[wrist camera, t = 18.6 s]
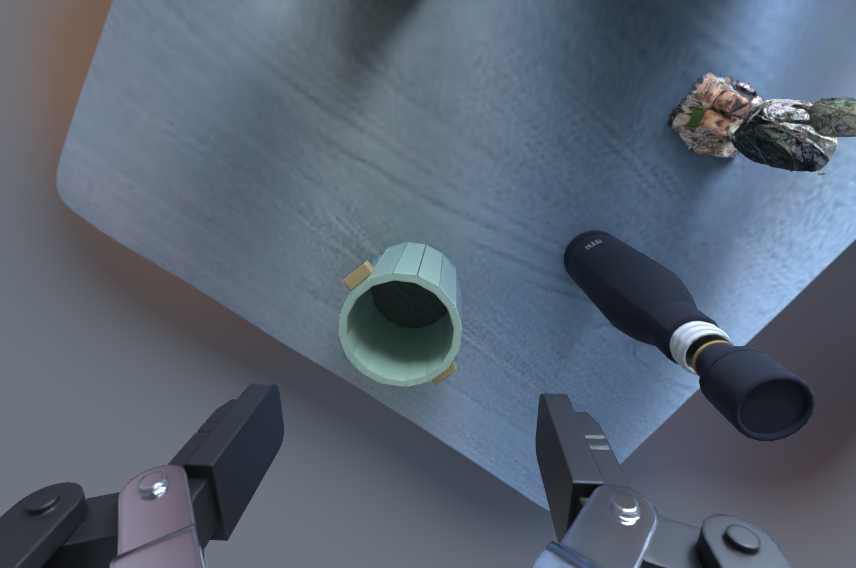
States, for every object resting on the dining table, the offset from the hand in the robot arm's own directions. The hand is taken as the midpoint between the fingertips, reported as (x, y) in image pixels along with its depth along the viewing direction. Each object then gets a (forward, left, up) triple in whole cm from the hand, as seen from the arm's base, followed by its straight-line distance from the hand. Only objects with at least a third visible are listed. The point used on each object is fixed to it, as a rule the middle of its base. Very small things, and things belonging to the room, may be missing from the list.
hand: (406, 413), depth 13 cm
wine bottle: (-11, +15, -38) cm, 42 cm away
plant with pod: (-29, +11, -38) cm, 49 cm away
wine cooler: (+8, +5, -38) cm, 39 cm away
